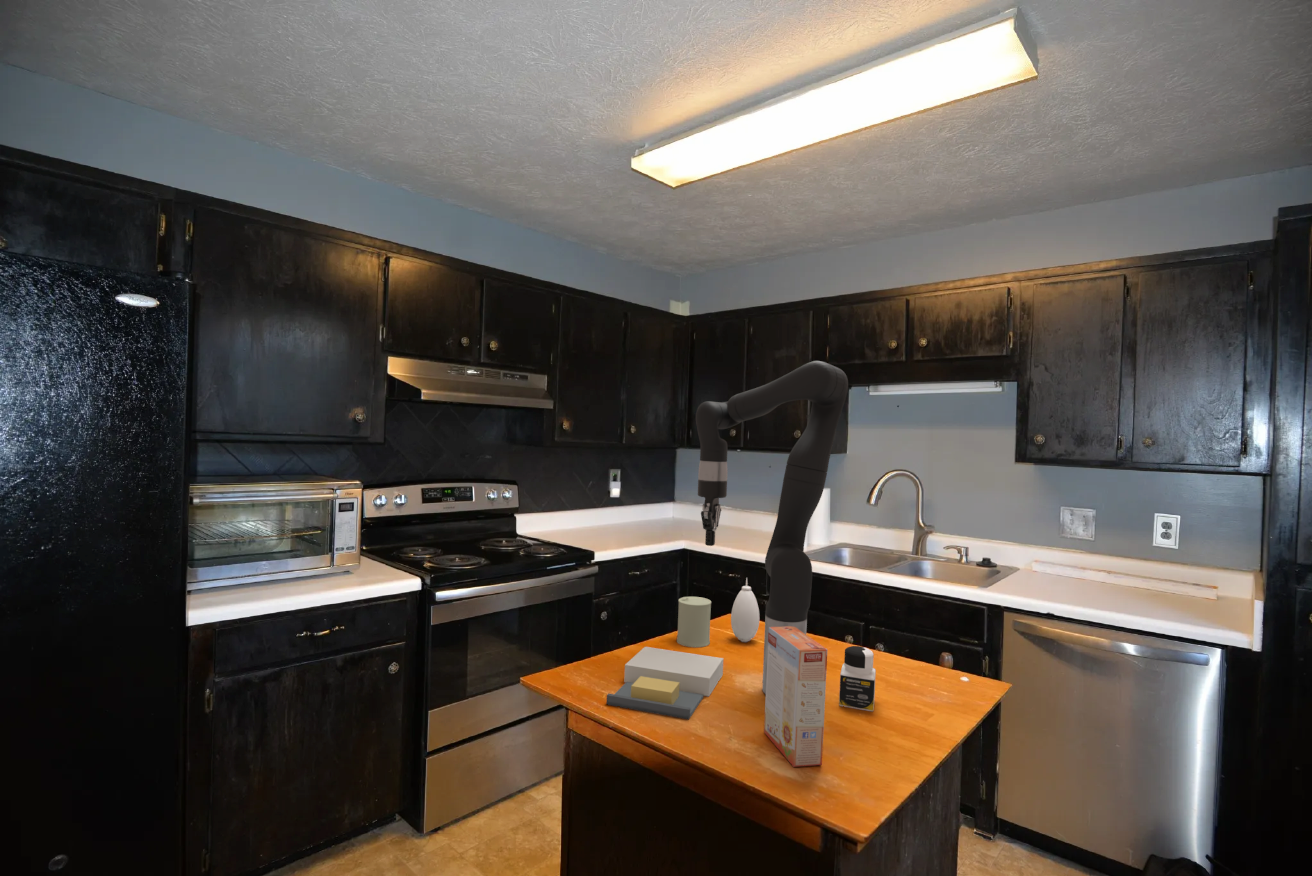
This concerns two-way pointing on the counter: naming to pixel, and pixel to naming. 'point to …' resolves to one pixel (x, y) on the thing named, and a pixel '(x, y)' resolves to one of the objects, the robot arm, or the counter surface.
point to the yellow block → (655, 690)
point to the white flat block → (676, 669)
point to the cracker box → (795, 695)
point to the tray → (656, 703)
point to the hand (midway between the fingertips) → (710, 545)
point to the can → (694, 622)
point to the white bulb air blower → (745, 615)
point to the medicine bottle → (857, 679)
